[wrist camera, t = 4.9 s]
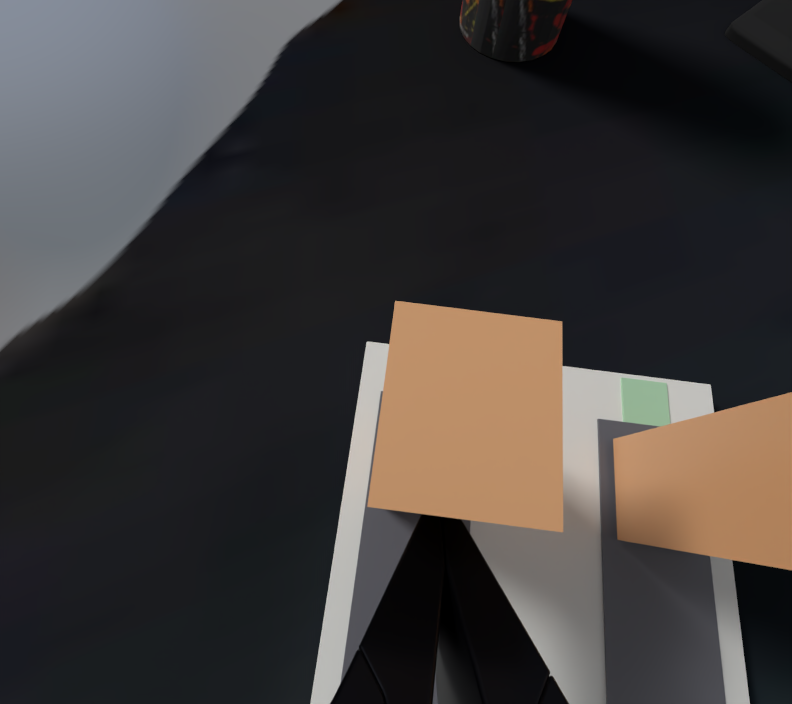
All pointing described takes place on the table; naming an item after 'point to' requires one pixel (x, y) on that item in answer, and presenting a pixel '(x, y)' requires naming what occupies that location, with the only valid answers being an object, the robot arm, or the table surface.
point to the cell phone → (766, 34)
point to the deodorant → (513, 27)
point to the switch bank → (561, 561)
